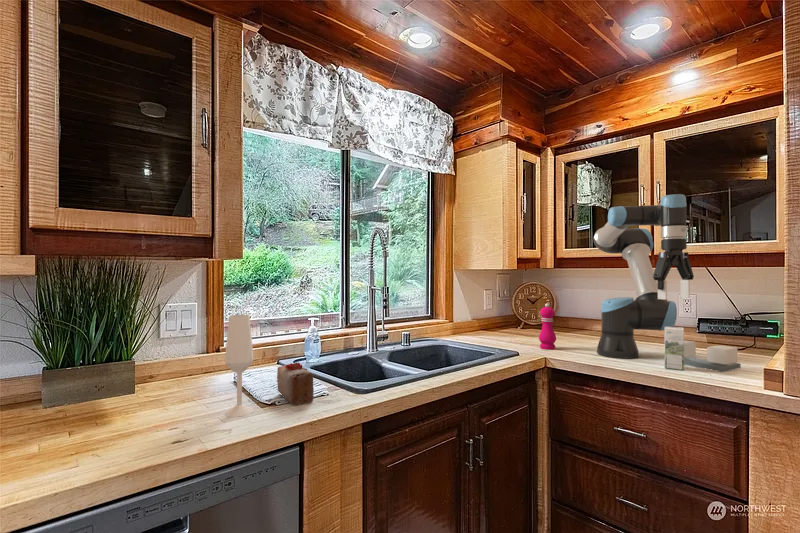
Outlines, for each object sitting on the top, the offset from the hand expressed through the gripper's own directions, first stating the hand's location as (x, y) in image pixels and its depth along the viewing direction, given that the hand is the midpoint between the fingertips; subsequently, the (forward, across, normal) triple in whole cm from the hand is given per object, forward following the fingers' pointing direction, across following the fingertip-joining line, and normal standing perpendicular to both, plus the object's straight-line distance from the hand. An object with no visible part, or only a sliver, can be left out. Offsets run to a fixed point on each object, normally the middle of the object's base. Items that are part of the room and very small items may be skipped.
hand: (673, 298), depth 145 cm
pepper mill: (+25, -12, +47) cm, 55 cm away
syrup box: (+25, 0, 0) cm, 25 cm away
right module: (+22, +15, -8) cm, 28 cm away
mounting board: (+25, +15, -1) cm, 29 cm away
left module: (+22, +15, +6) cm, 27 cm away
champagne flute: (+25, -142, +23) cm, 146 cm away
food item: (+25, -127, +28) cm, 133 cm away
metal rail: (+23, +15, -1) cm, 28 cm away
